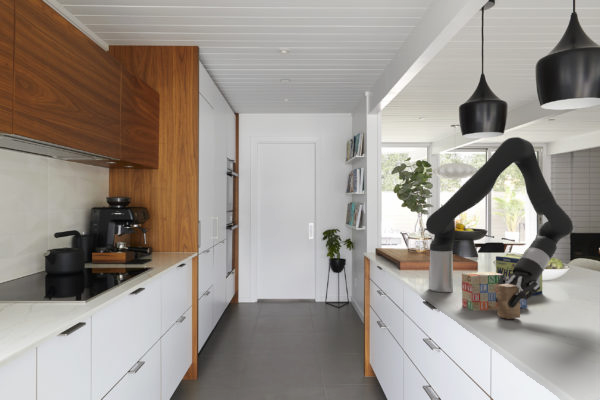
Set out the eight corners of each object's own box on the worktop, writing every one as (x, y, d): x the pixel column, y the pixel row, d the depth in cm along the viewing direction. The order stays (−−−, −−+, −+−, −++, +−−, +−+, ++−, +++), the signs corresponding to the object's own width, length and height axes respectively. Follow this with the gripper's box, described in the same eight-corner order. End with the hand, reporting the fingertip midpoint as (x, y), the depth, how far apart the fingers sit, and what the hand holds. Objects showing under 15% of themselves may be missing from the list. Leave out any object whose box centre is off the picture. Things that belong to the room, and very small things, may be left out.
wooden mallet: (483, 311, 130) (482, 281, 130) (495, 309, 132) (494, 280, 132) (508, 318, 120) (507, 287, 121) (520, 317, 122) (519, 285, 122)
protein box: (495, 293, 160) (495, 256, 160) (518, 289, 167) (518, 253, 167) (519, 298, 150) (519, 258, 151) (543, 294, 158) (542, 256, 158)
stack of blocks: (514, 304, 143) (514, 270, 143) (527, 308, 136) (526, 273, 137) (461, 306, 139) (461, 272, 139) (472, 310, 133) (471, 275, 133)
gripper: (507, 254, 133) (480, 292, 128) (545, 259, 119) (516, 301, 115) (519, 268, 134) (492, 306, 130) (558, 275, 121) (530, 318, 117)
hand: (504, 304), depth 123 cm, fingers closed on wooden mallet, 4 cm apart
